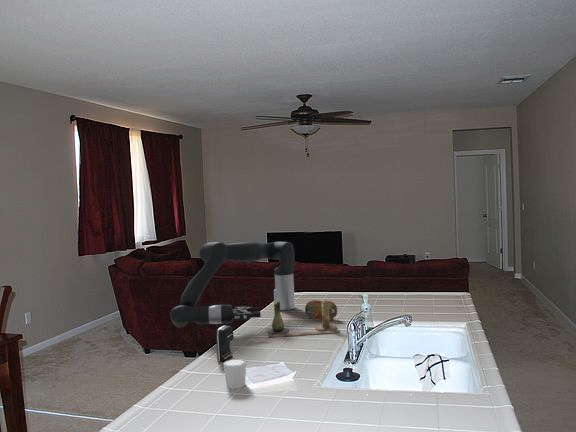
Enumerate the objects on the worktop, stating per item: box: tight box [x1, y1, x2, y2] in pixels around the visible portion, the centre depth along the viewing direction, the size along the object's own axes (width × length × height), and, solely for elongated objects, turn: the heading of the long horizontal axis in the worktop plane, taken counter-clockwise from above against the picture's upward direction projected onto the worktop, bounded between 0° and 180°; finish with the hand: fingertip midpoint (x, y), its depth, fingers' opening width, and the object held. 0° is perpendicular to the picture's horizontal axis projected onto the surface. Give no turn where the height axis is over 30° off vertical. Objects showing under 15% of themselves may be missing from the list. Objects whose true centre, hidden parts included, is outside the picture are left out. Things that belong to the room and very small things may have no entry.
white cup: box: [223, 358, 247, 390], centre depth 156 cm, size 7×7×7 cm
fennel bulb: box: [271, 301, 285, 331], centre depth 213 cm, size 6×5×12 cm
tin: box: [304, 300, 338, 321], centre depth 231 cm, size 15×3×8 cm, turn 62°
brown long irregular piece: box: [267, 299, 341, 339], centre depth 212 cm, size 29×12×12 cm, turn 95°
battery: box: [215, 325, 234, 362], centre depth 180 cm, size 7×4×11 cm, turn 158°
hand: (260, 312), depth 212 cm, fingers open, 8 cm apart
